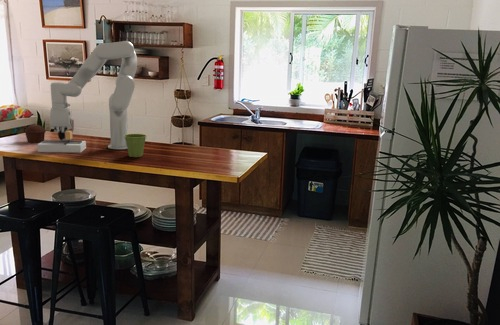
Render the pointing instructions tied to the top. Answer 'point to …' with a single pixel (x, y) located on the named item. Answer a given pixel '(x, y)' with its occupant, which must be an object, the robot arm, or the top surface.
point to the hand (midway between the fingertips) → (61, 139)
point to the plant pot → (135, 144)
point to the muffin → (35, 133)
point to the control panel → (61, 146)
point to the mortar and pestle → (69, 130)
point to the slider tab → (68, 135)
